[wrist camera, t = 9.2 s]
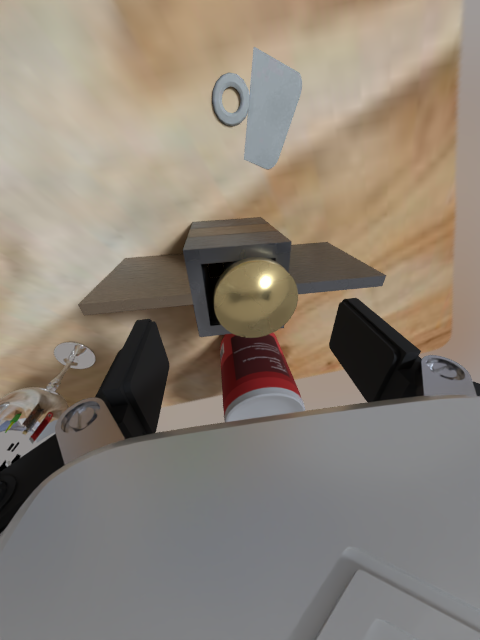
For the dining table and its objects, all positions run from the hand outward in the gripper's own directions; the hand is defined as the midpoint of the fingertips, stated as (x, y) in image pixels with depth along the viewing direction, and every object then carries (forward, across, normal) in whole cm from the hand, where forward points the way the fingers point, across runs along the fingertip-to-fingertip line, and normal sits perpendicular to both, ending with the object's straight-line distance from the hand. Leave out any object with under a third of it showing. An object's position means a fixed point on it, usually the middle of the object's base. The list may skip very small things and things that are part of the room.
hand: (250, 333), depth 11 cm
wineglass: (+13, +20, +11) cm, 26 cm away
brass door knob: (+13, -1, 0) cm, 13 cm away
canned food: (+13, -2, +12) cm, 18 cm away
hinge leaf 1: (+13, +4, 0) cm, 14 cm away
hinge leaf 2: (+13, -3, 0) cm, 14 cm away
